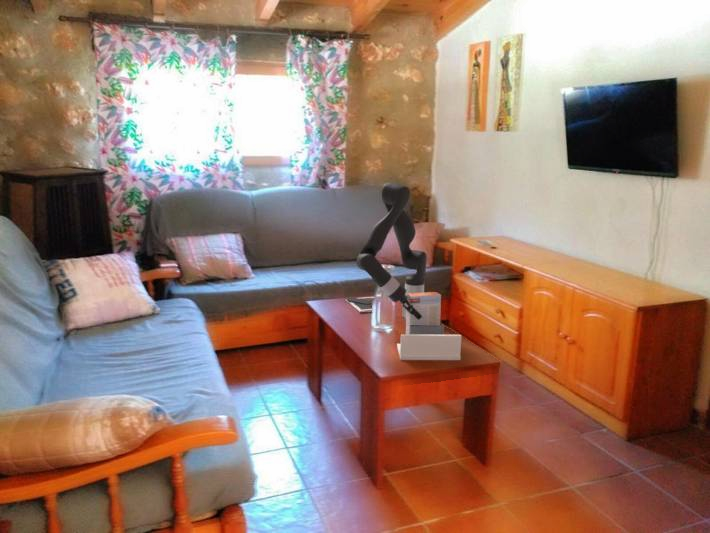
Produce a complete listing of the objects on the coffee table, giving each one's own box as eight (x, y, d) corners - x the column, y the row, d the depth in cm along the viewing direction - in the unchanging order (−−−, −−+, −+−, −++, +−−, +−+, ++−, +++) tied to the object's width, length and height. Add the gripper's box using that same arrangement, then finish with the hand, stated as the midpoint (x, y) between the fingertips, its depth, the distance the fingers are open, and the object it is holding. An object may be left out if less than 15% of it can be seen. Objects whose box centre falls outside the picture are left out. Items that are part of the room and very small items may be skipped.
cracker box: (435, 336, 259) (437, 291, 254) (439, 341, 253) (441, 294, 249) (404, 338, 256) (406, 292, 251) (409, 343, 250) (410, 296, 246)
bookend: (409, 344, 245) (409, 325, 243) (442, 344, 246) (443, 325, 244) (409, 345, 244) (410, 326, 242) (442, 345, 244) (444, 326, 242)
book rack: (397, 346, 246) (397, 324, 244) (453, 347, 247) (454, 324, 245) (400, 360, 233) (401, 336, 230) (460, 360, 233) (461, 336, 231)
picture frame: (345, 302, 308) (359, 314, 289) (345, 297, 307) (359, 309, 288) (373, 300, 313) (388, 311, 294) (373, 295, 312) (388, 306, 294)
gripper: (401, 287, 241) (428, 314, 244) (397, 278, 255) (423, 304, 258) (387, 299, 242) (415, 326, 245) (385, 290, 256) (410, 315, 259)
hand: (419, 315), depth 252 cm, fingers closed on cracker box, 6 cm apart
